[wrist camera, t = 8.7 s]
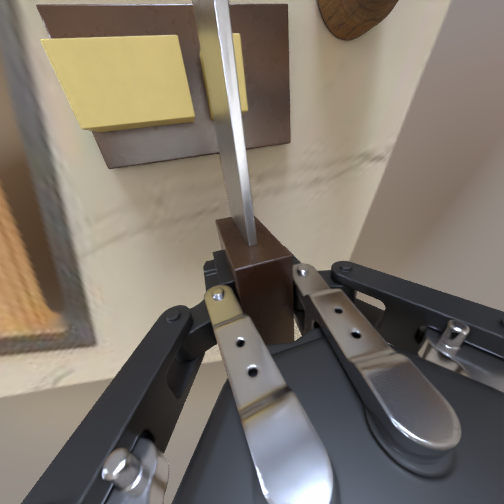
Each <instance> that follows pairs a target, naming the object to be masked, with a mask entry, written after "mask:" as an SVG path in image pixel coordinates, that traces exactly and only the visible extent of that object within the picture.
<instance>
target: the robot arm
mask: <svg viewBox="0 0 504 504" xmlns="http://www.w3.org/2000/svg"><path fill="white" fill-rule="evenodd" d="M284 247H285V246H284ZM285 248H286V247H285ZM286 249H287V248H286ZM287 250H288V249H287ZM288 251H289V250H288ZM289 252H290V251H289ZM290 253H291V252H290ZM291 254H292V253H291ZM213 256H214V260H211V261H206V263H205V264H204V266H203V269H204V276H205V285H206V293H205V295H204V300H203V301H202V302H201V303H199V304H198V305H196V306H195V307H193V308H191V309H189V308H188V307H186V306H183V305H179V306H174V307H171V308H169V309H168V310H166V311H165V312H164V313H163V314H162V315H161V316H160V317H159V318H158V320H157V321H156V323H155V324H154V325H153V327H152V328H151V329H150V331H149V332H148V333H147V335H146V336H145V337H144V339H143V340H142V341H141V343H140V344H139V345H138V347H137V348H136V349H135V351H134V352H133V354H132V355H131V356H130V358H129V359H128V360H127V362H126V363H125V364H124V366H123V367H122V368H121V370H120V371H119V372H118V374H117V375H116V376H115V378H114V379H113V380H112V382H111V383H110V385H109V386H108V387H107V389H106V390H105V391H104V393H103V394H102V395H101V397H100V398H99V399H98V401H97V402H96V403H95V405H94V406H93V407H92V409H91V410H90V411H89V413H88V414H87V416H86V417H85V418H84V420H83V421H82V422H81V424H80V425H79V426H78V428H77V429H76V430H75V432H74V433H73V434H72V436H71V437H70V438H69V440H68V441H67V442H66V444H65V445H64V447H63V448H62V449H61V450H60V452H59V453H58V455H57V456H56V457H55V459H54V460H53V461H52V463H51V464H50V465H49V467H48V468H47V470H46V471H45V472H44V474H43V475H42V476H41V477H40V479H39V480H38V481H37V483H36V484H35V486H34V487H33V488H32V490H31V491H30V492H29V494H28V495H27V496H26V498H25V499H24V500H23V502H22V503H21V504H163V501H164V495H165V491H166V487H167V484H168V479H169V464H168V461H167V458H166V457H165V455H164V452H165V450H166V447H167V445H168V442H169V440H170V437H171V435H172V433H173V430H174V428H175V425H176V423H177V420H178V418H179V415H180V413H181V411H182V408H183V406H184V403H185V401H186V399H187V396H188V394H189V391H190V389H191V387H192V384H193V382H194V379H195V376H196V374H197V372H198V370H199V367H200V365H201V362H202V360H203V357H204V355H205V351H207V350H208V349H210V348H211V347H213V346H214V345H216V344H217V343H218V346H219V350H220V353H221V356H222V359H223V362H224V366H225V369H226V372H227V376H228V378H227V380H226V382H225V384H224V385H223V387H222V390H221V392H220V394H219V396H218V399H217V401H216V403H215V406H214V408H213V410H212V412H211V415H210V417H209V419H208V421H207V424H206V426H205V428H204V431H203V433H202V435H201V438H200V440H199V442H198V444H197V447H196V449H195V451H194V454H193V456H192V458H191V460H190V463H189V465H188V467H187V469H186V472H185V474H184V476H183V479H182V481H181V483H180V485H179V488H178V490H177V492H176V495H175V497H174V500H173V502H172V504H504V312H503V311H500V310H496V309H493V308H490V307H487V306H484V305H481V304H478V303H475V302H472V301H469V300H466V299H463V298H460V297H457V296H453V295H450V294H447V293H444V292H441V291H438V290H435V289H432V288H429V287H426V286H423V285H420V284H417V283H413V282H410V281H407V280H404V279H401V278H398V277H395V276H392V275H389V274H386V273H383V272H380V271H377V270H373V269H371V268H367V267H364V266H361V265H358V264H355V263H352V262H348V261H339V262H335V263H334V264H333V265H332V267H331V270H326V271H317V270H316V269H315V268H314V267H313V266H311V265H309V264H304V263H301V262H300V261H299V260H298V259H297V258H296V257H295V256H294V255H293V254H292V256H293V306H294V319H295V321H296V323H297V326H298V328H299V330H300V332H301V335H302V337H300V338H299V339H297V340H296V341H294V342H291V343H280V344H269V345H265V344H264V342H263V340H262V338H261V336H260V334H259V333H258V331H257V329H256V327H255V325H254V323H253V322H252V320H251V318H250V316H249V315H248V313H244V312H243V310H242V308H241V306H240V304H239V302H238V300H237V296H236V291H235V286H234V282H233V278H232V276H231V273H230V270H229V267H228V264H227V261H226V258H225V255H224V252H223V250H220V251H215V252H213ZM357 291H359V292H361V293H364V294H366V295H369V296H371V297H374V298H376V299H378V300H380V301H382V302H383V303H384V305H385V307H386V309H385V310H381V309H379V308H377V307H375V306H372V305H370V304H368V303H366V302H363V301H361V300H359V299H356V294H357ZM387 342H388V343H390V344H392V345H390V344H388V343H387Z"/></svg>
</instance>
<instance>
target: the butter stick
mask: <svg viewBox="0 0 504 504" xmlns="http://www.w3.org/2000/svg"><path fill="white" fill-rule="evenodd" d="M40 41H41V43H42V45H43V47H44V50H45V52H46V54H47V56H48V58H49V60H50V63H51V65H52V67H53V69H54V71H55V73H56V76H57V78H58V80H59V82H60V84H61V86H62V88H63V91H64V93H65V95H66V97H67V99H68V101H69V104H70V106H71V108H72V110H73V112H74V114H75V117H76V119H77V121H78V123H79V125H80V127H81V129H85V130H90V131H96V132H107V131H116V130H125V129H134V128H143V127H152V126H161V125H170V124H179V123H187V122H194V119H195V113H194V109H193V104H192V100H191V95H190V90H189V86H188V81H187V76H186V72H185V67H184V63H183V58H182V53H181V49H180V44H179V39H178V36H177V35H157V36H125V37H93V38H62V39H40Z"/></svg>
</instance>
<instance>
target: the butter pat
mask: <svg viewBox="0 0 504 504" xmlns="http://www.w3.org/2000/svg"><path fill="white" fill-rule="evenodd" d="M232 35H233V43H234V52H235V60H236V68H237V77H238V85H239V94H240V102H241V111H242V114H243V113H245V112H247V111H248V104H247V95H246V85H245V76H244V66H243V57H242V47H241V38H240V34H239V33H232ZM200 60H201V66H202V71H203V77H204V82H205V88H206V93H207V99H208V104H209V109H210V115H211V119H212V120H213V115H212V109H211V104H210V98H209V92H208V87H207V81H206V76H205V70H204V65H203V59H202V53H201V48H200Z"/></svg>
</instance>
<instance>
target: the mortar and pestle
mask: <svg viewBox="0 0 504 504" xmlns="http://www.w3.org/2000/svg"><path fill="white" fill-rule="evenodd" d="M318 2H319V7H320V11H321V14H322V17H323V19H324V21H325V23H326V25H327V27H328V28H329V29H330V31H331V32H332V33H333V34H334V35H335V36H337V37H339V38H341V39H345V40H351V39H355V38H357V37H359V36H361V35H362V34H364V33H365V32H367V31H368V30H370V29H371V28H372V27H374V26H375V25H377V24H378V23H380V22H381V21H382V20H383V19H384V18H386V17H387V15H388V14H389V13H390V12H391V11H392V9H393V8H394V6H395V5H396V3H397V2H398V0H318Z"/></svg>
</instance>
